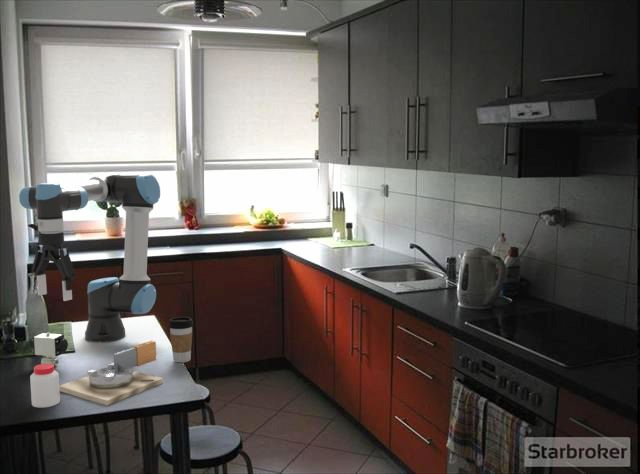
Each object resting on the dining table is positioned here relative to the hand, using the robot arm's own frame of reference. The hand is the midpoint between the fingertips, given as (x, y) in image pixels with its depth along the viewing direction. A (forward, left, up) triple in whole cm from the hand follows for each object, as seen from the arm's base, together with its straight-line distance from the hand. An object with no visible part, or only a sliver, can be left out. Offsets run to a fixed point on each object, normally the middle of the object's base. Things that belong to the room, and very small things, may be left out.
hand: (54, 297), depth 213 cm
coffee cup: (-34, +22, -27) cm, 48 cm away
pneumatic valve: (-5, -11, -27) cm, 29 cm away
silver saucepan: (-8, +22, -24) cm, 34 cm away
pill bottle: (+17, +16, -27) cm, 35 cm away
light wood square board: (-3, +22, -26) cm, 35 cm away
